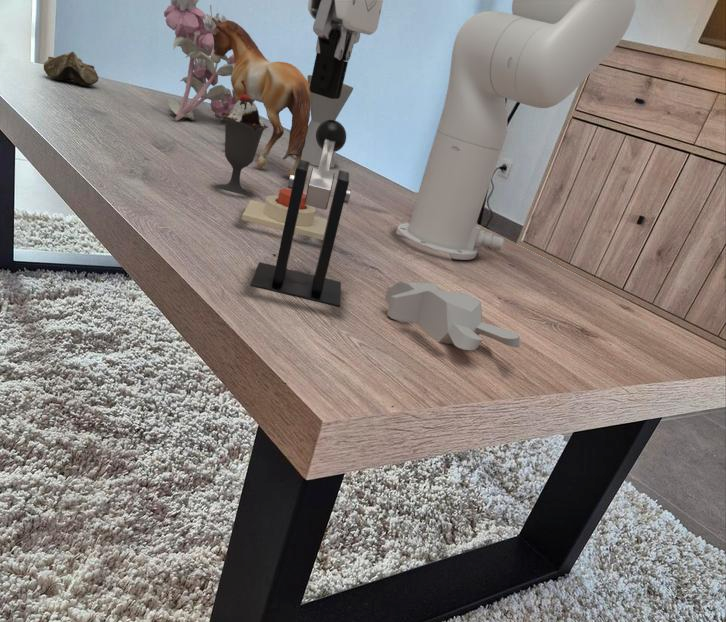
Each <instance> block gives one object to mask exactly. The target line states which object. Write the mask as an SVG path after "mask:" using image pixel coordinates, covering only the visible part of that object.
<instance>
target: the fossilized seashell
mask: <svg viewBox="0 0 726 622" xmlns="http://www.w3.org/2000/svg"><path fill="white" fill-rule="evenodd" d="M43 71H44V72H45V74H46V76H48V77H50V78H52V79H53V80H57V81H60V82H67V81H68V82H69V81H72V82H74V83H76V84H77V85H80V86H85V87H89V86H92V85H95V84H96V83H98V81H99V79H100V78H99V75H98V73H97V71H96V69H95V66H94V65H92V64H91V65H90V64H87V63H84V62H83V60H82V59H81V58H79V57H78V56H77V54H76V53H75V52H74V51H70V52H67V53H64V54H60V55H58V56H56V57H53V56H48V59H47V60H46V61H45V62H44V63H43Z"/></svg>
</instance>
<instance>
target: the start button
mask: <svg viewBox="0 0 726 622" xmlns="http://www.w3.org/2000/svg"><path fill="white" fill-rule="evenodd" d="M278 191H279V192H278V201H277V203H278V204H281V205H283V206H286V207H288V205H289V201H290V196H291V191H292V189H289V188H280V189H279V190H278ZM305 199H306V194H305V193H303V195H302V200H301V204H300V209H301V210H303V209H305V204H304V203H305Z"/></svg>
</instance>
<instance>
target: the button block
mask: <svg viewBox="0 0 726 622" xmlns="http://www.w3.org/2000/svg"><path fill="white" fill-rule="evenodd" d="M278 196H279V194H278V195H277V194H274V195H267V196H266V198H265V201H264V202H261V201H257V200H254V199H250V200H249V202H248V204H247V206H246V208H245V210H244V212H243V213H242V214H241V221H245V222H248V223H252V224H256V225H260V226H265V227H267V228H268V227H269V228H273V229H276V230H280V231H283V229H284V225H285V220H286V215H287V210H288V207H286V206H283V205H281V204H278V203H277V201H278ZM316 210H317V208H316V207H313V206H309V205H305V209H303V210H301V209H299V213H298V218H297V223H296V227H295V232H294V234H296V235H301V236H304V237H309V238H312V239H317V240H321V241H323V237H324V233H325V229H326V225H327V220H328V218H324V217H321V216H316Z"/></svg>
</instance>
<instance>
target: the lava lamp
mask: <svg viewBox="0 0 726 622" xmlns="http://www.w3.org/2000/svg"><path fill="white" fill-rule="evenodd" d="M311 78H312V74H308V75H307V78H306V80H307V81H308V83H309V85H310V83H311ZM353 91H354V87H353V86H352V85H351V86H350V85H349V84H345V83H343V87H342V91H341V95H340V98H339V99H330V98H327V97H324V96H321V95H318V94H315V93H312V92H311V94H310V118H311V119H310V120H309V123H308V132H307V135H306V138H305V145H304V148H303V151H302V157H301V160H304V161H307V162H309V165H311V166H315V167H319V163H320V159H321V154H322V150H323V149H321V148H320V147H319V145H318V143H317V141H316V131H317V128H318V127H319V125H320V124H321V123H322V122H324V121H326V120H335V121H337V119H338V117H339V115H340V113H341V112H342V110H343V108H344V106H345V104H346V103H347V101H348V100H349V98H350V96H351V94H352V92H353ZM291 156H292V157H293V159H296V156H295V155H291ZM331 168H335V152H333V155H332V160H331V165H330V169H331Z"/></svg>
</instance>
